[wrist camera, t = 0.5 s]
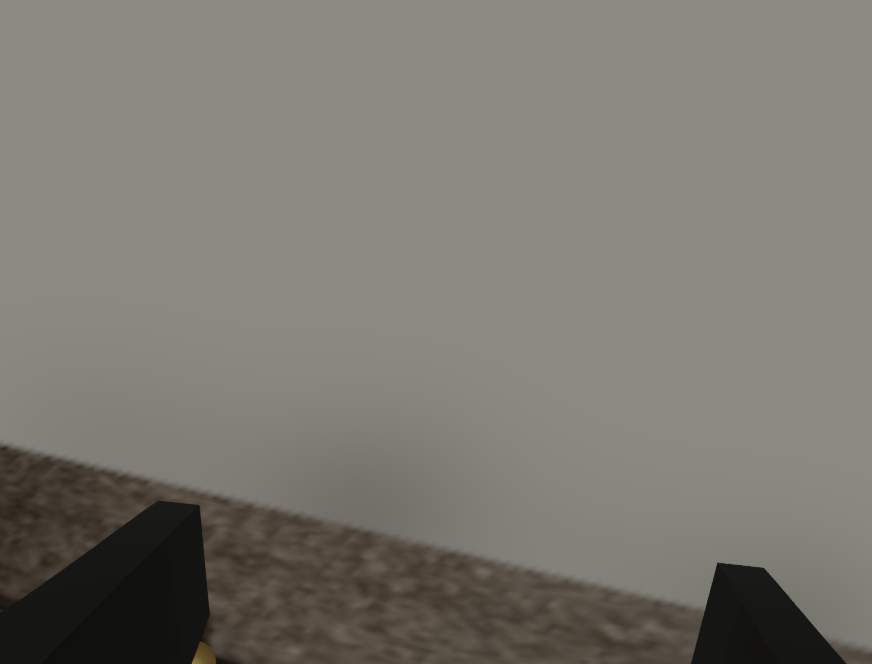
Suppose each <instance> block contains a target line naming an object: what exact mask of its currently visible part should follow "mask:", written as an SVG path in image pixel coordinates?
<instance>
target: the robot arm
mask: <svg viewBox="0 0 872 664" xmlns="http://www.w3.org/2000/svg"><path fill="white" fill-rule="evenodd" d="M209 615H210V613H209V602H208V591H207V581H206V570H205V559H204V548H203V537H202V527H201V516H200V505H192V504H183V503H174V502H165V501H157V502H156V503H154V504H153V505H151V506H150V507H148V508H147V509H146V510H144V511H143V512H141V513H140V514H139V515H137V516H136V517H134V518H133V519H132V520H130V521H129V522H128V523H126V524H125V525H124V526H122V527H121V528H119V529H118V530H117V531H115V532H114V533H113V534H111V535H110V536H109V537H107V538H106V539H105V540H103V541H102V542H101V543H99V544H98V545H96V546H95V547H94V548H92V549H91V550H90V551H88V552H87V553H86V554H84V555H83V556H81V557H80V558H79V559H77V560H76V561H74V562H73V563H72V564H70V565H69V566H67V567H66V568H65V569H63V570H62V571H61V572H59V573H58V574H56V575H55V576H54V577H52V578H51V579H49V580H48V581H47V582H45V583H44V584H42V585H41V586H40V587H38V588H37V589H35V590H34V591H32V592H31V593H30V594H28V595H27V596H25V597H24V598H22V599H21V600H19V601H18V602H16V603H14V604H13V605H11V606H10V607H8V608H7V609H5V610H4V611H2V612H1V613H0V664H192V662H193V659H194V657H195V654H196V652H197V649H198V646H199V643H200V640H201V638H202V635H203V632H204V629H205V626H206V624H207V621H208V618H209ZM691 664H846V663H845V662H844V660H843V659H842V658H841V657H840V656H839V655H838V654H837V652H836V651H835V650H834V649H833V648H832V647H831V646H830V644H829V643H828V642H827V641H826V640H825V639H824V637H823V636H822V635H821V634H820V633H819V632H818V631H817V629H816V628H815V627H814V626H813V625H812V624H811V622H810V621H809V620H808V619H807V618H806V616H805V615H804V614H803V613H802V612H801V611H800V609H799V608H798V607H797V606H796V605H795V603H794V602H793V601H792V600H791V599H790V598H789V596H788V595H787V594H786V593H785V592H784V591H783V589H782V588H781V587H780V586H779V585H778V583H777V582H776V581H775V580H774V579H773V578H772V577H771V575H769V573H768V572H767V571H766V570H765V569H764V568H760V567H751V566H742V565H733V564H724V563H717V566H716V570H715V574H714V578H713V582H712V586H711V589H710V593H709V597H708V601H707V605H706V609H705V612H704V616H703V620H702V624H701V628H700V632H699V636H698V639H697V643H696V647H695V651H694V655H693V659H692V662H691Z"/></svg>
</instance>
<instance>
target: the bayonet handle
mask: <svg viewBox="0 0 872 664" xmlns="http://www.w3.org/2000/svg"><path fill="white" fill-rule="evenodd" d="M192 664H216V658H215V655H214V653H213V651H212V649H211V648H210V647H209V646H208V645H207V644H205V643H203V642H201V641H200V643H199V646H198V649H197V652H196V654H195V657H194V659H193V662H192Z"/></svg>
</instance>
